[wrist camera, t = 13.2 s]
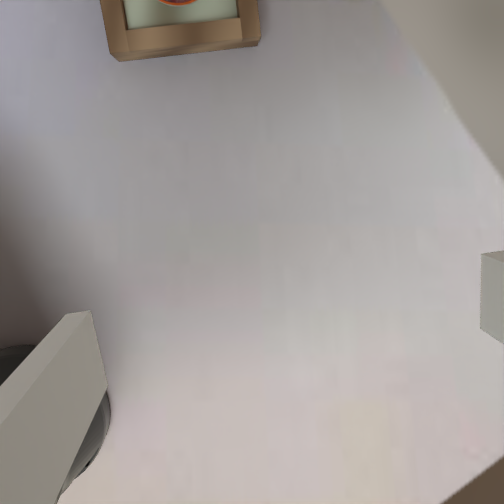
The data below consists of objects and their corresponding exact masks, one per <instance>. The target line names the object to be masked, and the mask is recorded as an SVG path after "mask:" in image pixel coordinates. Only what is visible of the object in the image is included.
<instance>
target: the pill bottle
mask: <svg viewBox="0 0 504 504" xmlns="http://www.w3.org/2000/svg"><path fill="white" fill-rule="evenodd" d="M158 1H159V2H161V3H163V4H166V5H169V6H175V7H182V6H187V5H190V4H193V3H195V2H196V1H198V0H158Z"/></svg>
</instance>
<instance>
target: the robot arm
mask: <svg viewBox="0 0 504 504" xmlns="http://www.w3.org/2000/svg"><path fill="white" fill-rule="evenodd" d="M480 329H482V330H483V331H485V332H486V333H488V334H489V335H491V336H492V337H494V338H495V339H496V340H498V341H499V342H501V343H502V344H504V251H497V252H490V253H484V254H481V303H480ZM107 387H108V383H107V379H106V375H105V370H104V366H103V362H102V358H101V353H100V349H99V345H98V341H97V336H96V332H95V328H94V324H93V319H92V315H91V311H90V310H89V311H82V312H75V313H68V314H66V315H65V316H64V317H63V318H62V319H61V320H60V321H59V322H58V323H57V325H56V326H55V327H54V328H53V329H52V330H51V331H50V332H49V333H48V334H47V336H46V337H45V338H44V339H43V340H42V341H41V342H40V343H39V344H38V345H37V346H28V345H27V346H15V347H9V348H6V349H2V350H0V504H57V502H58V500H59V497H60V495H61V494H62V493H63V492H64V491H65V490H66V489H67V488H68V487H69V486H70V484H71V483H72V481H73V480H74V479H75V478H77V477H78V476H79V475H80V474H82V473H83V472H84V471H85V470H86V469H87V468H88V467H89V465H90V464H91V463H92V462H93V461H94V459H95V458H96V456H97V454H98V453H99V451H100V449H101V446H102V444H103V441H104V439H105V436H106V434H107V431H108V427H109V422H110V406H109V401H108V397H107V395H106V392H105V391H106V389H107Z"/></svg>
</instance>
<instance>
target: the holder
mask: <svg viewBox="0 0 504 504" xmlns="http://www.w3.org/2000/svg"><path fill="white" fill-rule="evenodd" d="M100 4H101V9H102V14H103V20H104V25H105V30H106V35H107V40H108V46H109V51H110V54H111V55H112V56H113V57H114V58H116V59H117V60H118V61H119V62H121V61H130V60H139V59H147V58H156V57H165V56H173V55H182V54H191V53H199V52H208V51H217V50H226V49H234V48H243V47H252V46H257V45H258V43H259V40H260V38H261V32H260V22H259V13H258V4H257V0H198V1H196V2H195V3H193V4H190V5H187V6H182V7H175V6H169V5H166V4H163V3H161V2H159V1H158V0H100Z"/></svg>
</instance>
